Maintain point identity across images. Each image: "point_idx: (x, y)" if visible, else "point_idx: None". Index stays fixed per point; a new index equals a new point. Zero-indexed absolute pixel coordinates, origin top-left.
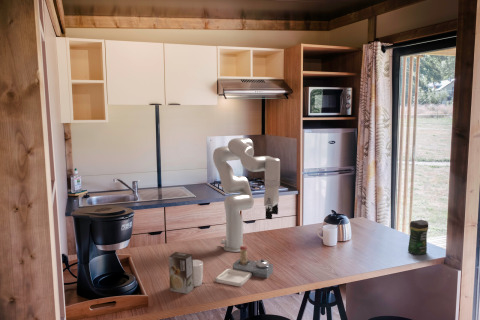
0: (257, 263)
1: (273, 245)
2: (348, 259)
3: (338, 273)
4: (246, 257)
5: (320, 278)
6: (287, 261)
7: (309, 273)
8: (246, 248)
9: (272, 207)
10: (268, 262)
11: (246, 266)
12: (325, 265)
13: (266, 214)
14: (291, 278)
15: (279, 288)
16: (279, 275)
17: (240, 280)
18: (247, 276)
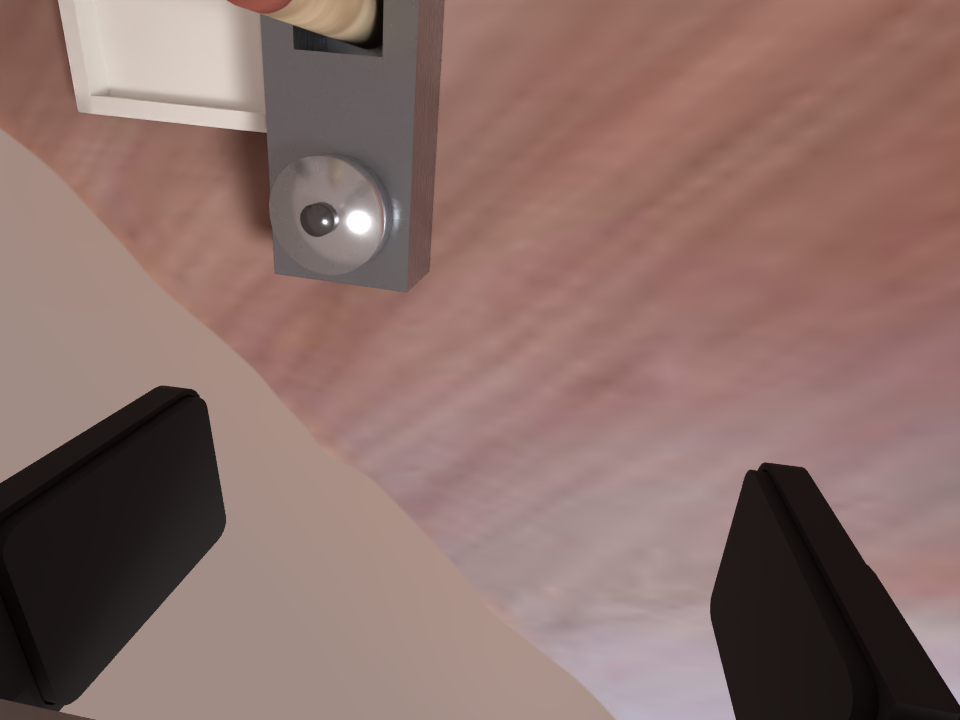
0: (275, 182)
1: None
2: None
3: (579, 635)
4: (305, 28)
5: (472, 551)
6: (723, 329)
7: (526, 494)
8: (248, 9)
9: (831, 676)
10: (333, 274)
11: (263, 70)
12: (696, 578)
13: (75, 470)
14: (407, 401)
15: (243, 356)
16: (424, 320)
17: (180, 71)
18: (204, 121)
